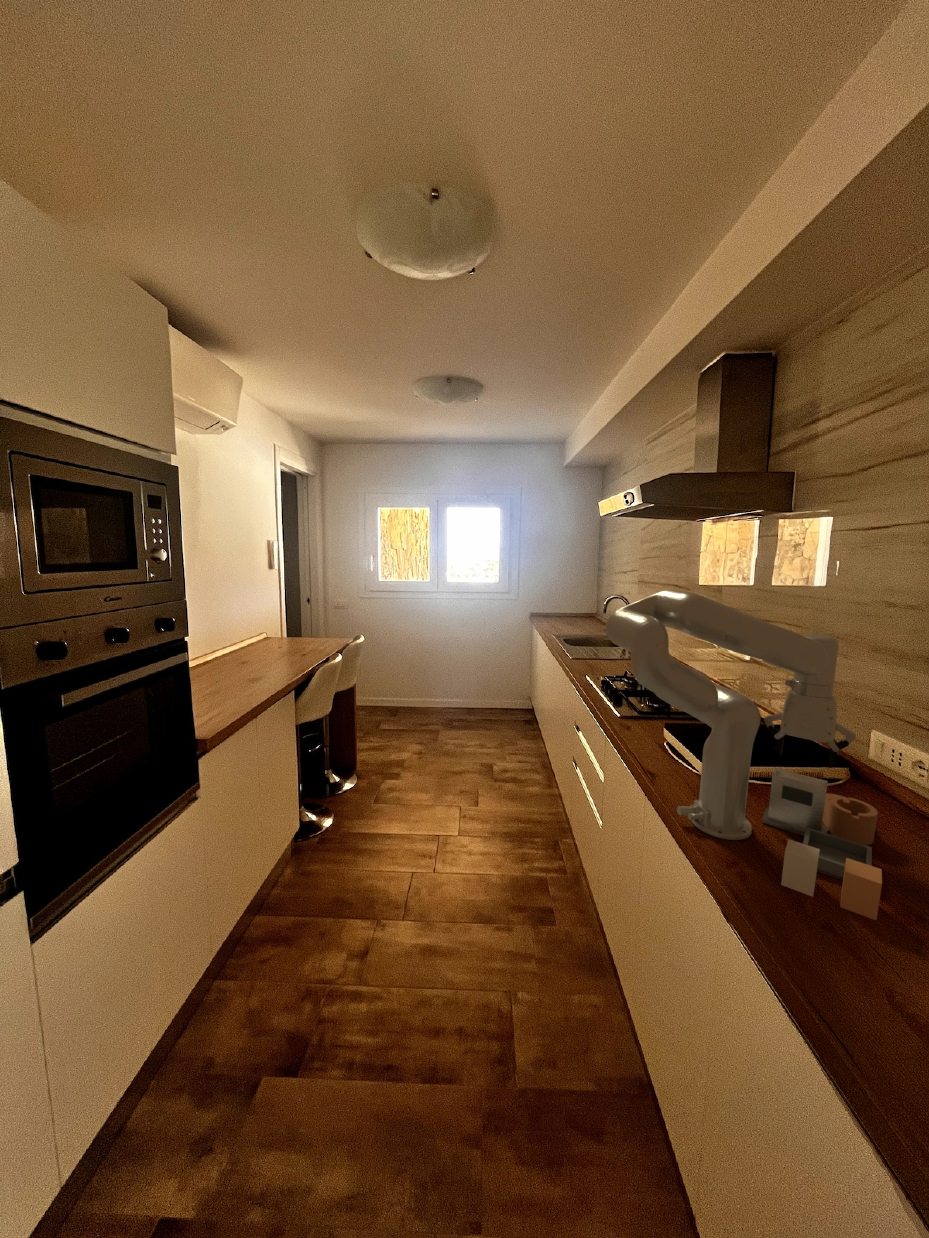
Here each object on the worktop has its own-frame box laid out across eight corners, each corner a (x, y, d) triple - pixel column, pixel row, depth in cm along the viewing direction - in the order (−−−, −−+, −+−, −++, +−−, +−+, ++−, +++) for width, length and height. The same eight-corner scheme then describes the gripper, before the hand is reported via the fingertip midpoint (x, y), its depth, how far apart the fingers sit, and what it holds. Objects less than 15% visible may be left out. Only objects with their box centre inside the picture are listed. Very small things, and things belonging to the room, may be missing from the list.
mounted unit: (761, 822, 114) (766, 774, 112) (765, 811, 118) (771, 765, 117) (825, 842, 106) (832, 791, 104) (827, 830, 111) (833, 780, 109)
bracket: (879, 849, 104) (883, 819, 103) (831, 840, 108) (835, 811, 107) (853, 808, 121) (856, 781, 119) (812, 800, 124) (815, 775, 123)
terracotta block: (840, 906, 88) (845, 871, 87) (841, 891, 92) (846, 857, 91) (876, 920, 85) (882, 884, 84) (876, 904, 89) (881, 869, 87)
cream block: (781, 884, 93) (784, 851, 92) (784, 871, 97) (788, 839, 96) (813, 896, 90) (817, 862, 89) (815, 882, 94) (819, 849, 93)
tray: (799, 865, 99) (800, 851, 99) (805, 839, 107) (806, 827, 107) (869, 889, 92) (871, 875, 92) (869, 860, 101) (871, 847, 100)
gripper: (765, 685, 114) (758, 754, 116) (860, 700, 103) (850, 777, 106) (770, 678, 119) (763, 744, 122) (861, 692, 109) (851, 764, 111)
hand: (804, 759), depth 114 cm, fingers open, 9 cm apart
